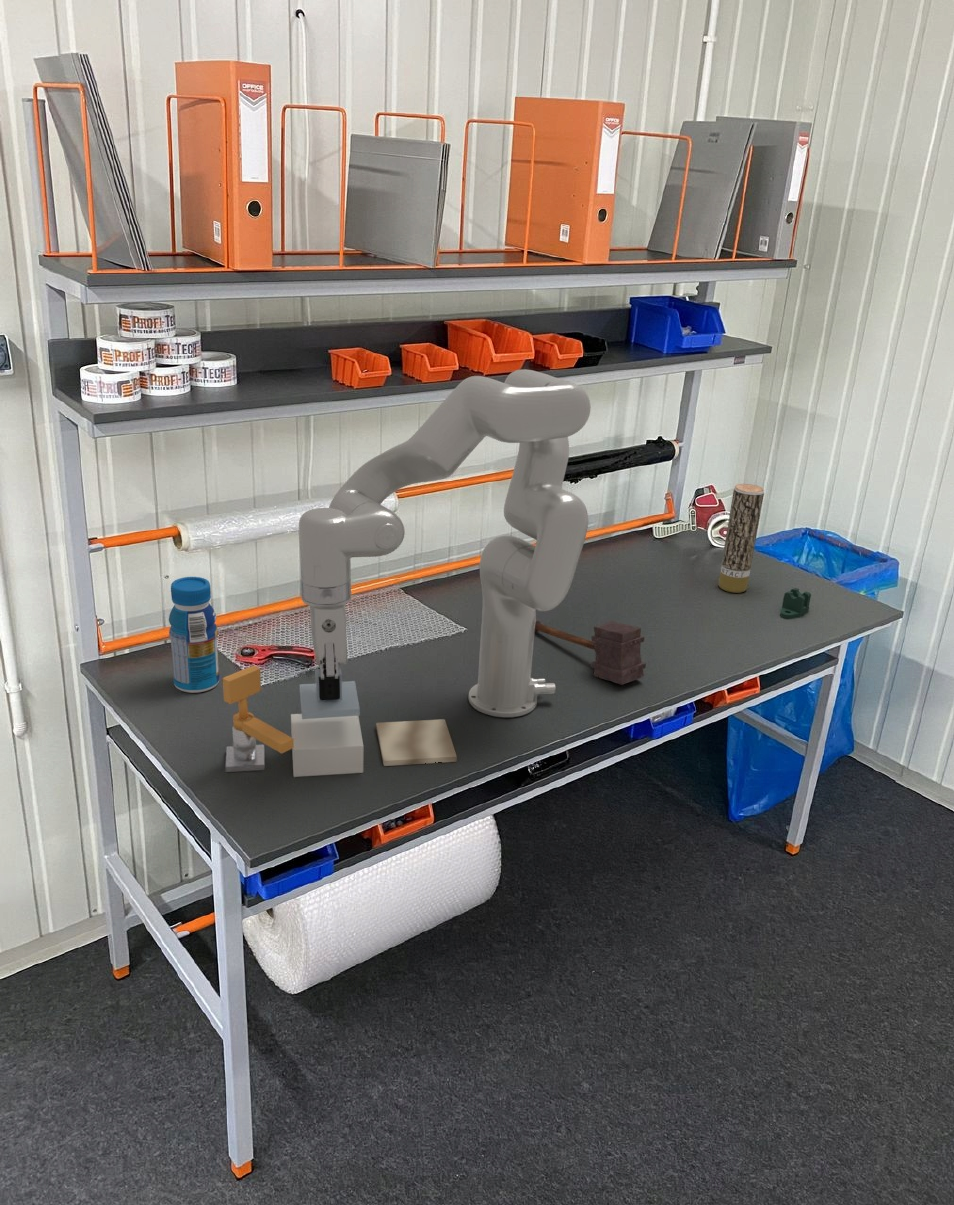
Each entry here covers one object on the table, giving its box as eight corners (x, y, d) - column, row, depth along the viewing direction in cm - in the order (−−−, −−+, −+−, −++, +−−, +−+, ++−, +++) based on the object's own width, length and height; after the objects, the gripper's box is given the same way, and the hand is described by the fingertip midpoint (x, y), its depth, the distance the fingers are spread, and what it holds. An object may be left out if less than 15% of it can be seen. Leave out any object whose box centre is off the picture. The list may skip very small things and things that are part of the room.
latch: (302, 743, 158) (301, 690, 154) (272, 758, 154) (270, 704, 150) (252, 715, 165) (250, 663, 161) (222, 728, 160) (219, 676, 157)
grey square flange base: (264, 749, 168) (263, 715, 165) (264, 769, 162) (263, 734, 160) (226, 751, 166) (225, 717, 164) (225, 772, 161) (223, 736, 158)
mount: (792, 622, 227) (796, 601, 225) (774, 616, 230) (777, 595, 228) (814, 609, 235) (818, 589, 233) (796, 603, 237) (800, 583, 235)
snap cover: (354, 687, 168) (354, 656, 166) (359, 715, 160) (359, 683, 158) (299, 690, 166) (298, 660, 164) (302, 719, 158) (300, 687, 156)
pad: (444, 724, 178) (444, 719, 178) (456, 761, 167) (456, 756, 167) (376, 727, 176) (376, 722, 175) (383, 765, 165) (383, 760, 165)
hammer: (622, 686, 192) (621, 635, 189) (510, 651, 217) (508, 606, 214) (647, 676, 196) (646, 627, 193) (534, 644, 221) (531, 600, 218)
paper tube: (724, 580, 247) (741, 481, 237) (751, 588, 244) (769, 488, 234) (713, 588, 242) (729, 488, 232) (740, 596, 239) (757, 494, 228)
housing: (357, 736, 173) (357, 711, 171) (363, 772, 163) (363, 745, 161) (291, 740, 171) (290, 714, 169) (293, 776, 161) (293, 749, 159)
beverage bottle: (164, 690, 184) (156, 588, 175) (186, 669, 191) (179, 571, 183) (207, 697, 182) (201, 595, 174) (228, 676, 190) (223, 577, 181)
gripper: (355, 610, 148) (357, 718, 156) (346, 567, 163) (348, 669, 170) (303, 612, 147) (307, 722, 155) (299, 569, 161) (303, 671, 169)
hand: (329, 693), depth 162 cm, fingers closed on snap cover
